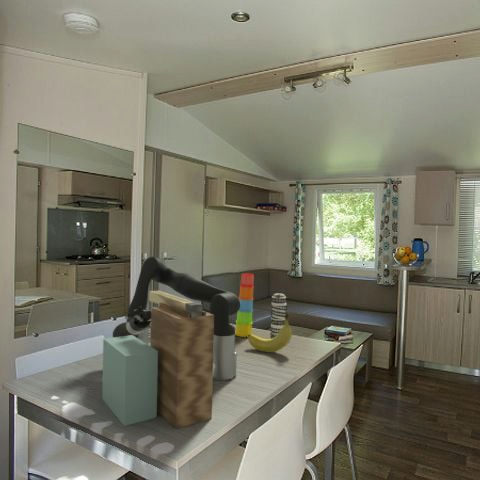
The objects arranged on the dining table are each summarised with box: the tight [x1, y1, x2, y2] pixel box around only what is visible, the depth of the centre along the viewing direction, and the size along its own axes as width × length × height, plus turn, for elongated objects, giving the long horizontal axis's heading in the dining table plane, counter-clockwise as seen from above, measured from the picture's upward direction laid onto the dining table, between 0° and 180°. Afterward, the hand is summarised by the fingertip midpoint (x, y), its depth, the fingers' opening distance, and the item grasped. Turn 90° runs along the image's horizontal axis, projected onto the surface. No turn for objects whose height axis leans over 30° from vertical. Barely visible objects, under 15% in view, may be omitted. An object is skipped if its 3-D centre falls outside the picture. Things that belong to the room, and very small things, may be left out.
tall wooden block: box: [150, 303, 214, 430], centre depth 126 cm, size 12×20×33 cm, turn 35°
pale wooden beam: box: [148, 290, 203, 317], centre depth 130 cm, size 4×32×4 cm, turn 35°
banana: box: [247, 312, 293, 353], centre depth 191 cm, size 23×6×20 cm, turn 62°
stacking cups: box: [235, 273, 255, 338], centre depth 222 cm, size 10×10×35 cm
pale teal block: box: [101, 335, 158, 427], centre depth 127 cm, size 10×22×20 cm, turn 35°
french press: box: [138, 323, 151, 346], centre depth 201 cm, size 10×12×25 cm
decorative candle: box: [269, 292, 288, 339], centre depth 213 cm, size 9×9×25 cm
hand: (152, 307), depth 144 cm, fingers open, 8 cm apart
